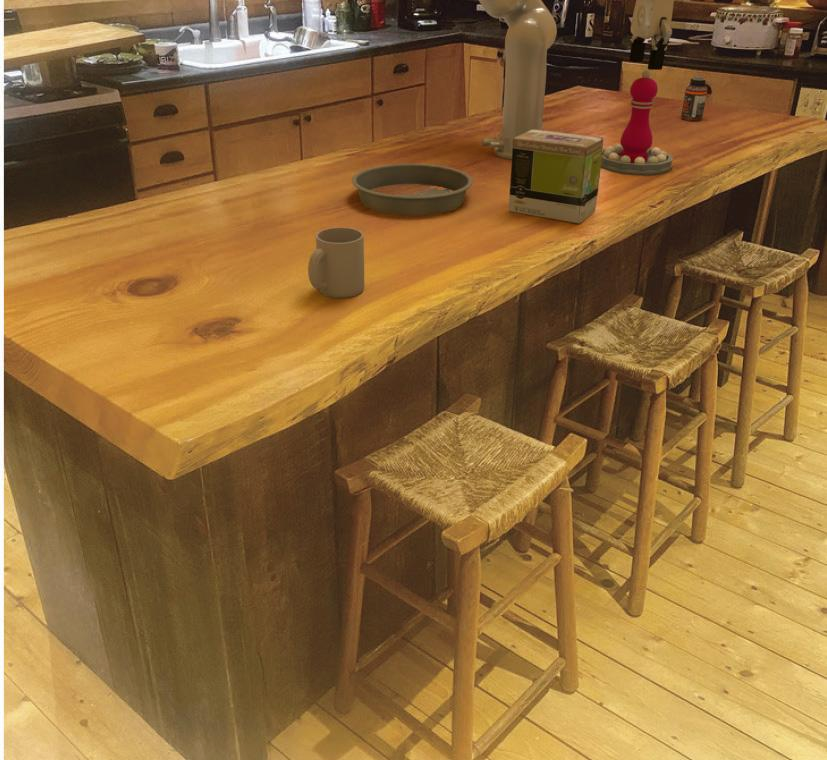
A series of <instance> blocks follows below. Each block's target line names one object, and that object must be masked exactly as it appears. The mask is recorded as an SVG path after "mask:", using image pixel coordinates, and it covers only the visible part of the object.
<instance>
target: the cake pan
mask: <svg viewBox="0 0 827 760" xmlns="http://www.w3.org/2000/svg"><path fill="white" fill-rule="evenodd" d="M351 183H352V185H353V187H355V188H356V189H357V191H358V192H357V193H358V195H359V198H360V202H361V204H363V206H365V207H366V208H368V209H370V210H373V211H376V212H380V213H382V214H383V213H385V214H389V215H390V214H391V215H395V216H396V215H397V216H398V215H399V216H415V217H417V216H430V215H438V214H443V213H447V212H451V211H453V210H455V209H457V208H459V207H461V206H462V205H463V204H464V200H465V196H466V193H467V191H468V190H469V189H470V187H471V186H472V185H473V178H472V177H471V176H470V175H469V174H468V173H466V172H465V171H462V170H459V169H456V168H452V167H449V166H443V165H438V164H437V165H436V164H426V163H398V164H397V163H395V164H385V165H378V166H373V167H369V168H365V169H363V170H361V171H359V172H357V173H356V174H354V175H353V177H352V179H351ZM415 184H419V185H420V186H421V185H422V186H428V185H432V186H437V187H443V188H446V189H444V190H438V189H437V188H434V189H427V188H425V189H420V190H419V191H420V192H416V191H414V192H415V193H419V194H408V193H409V192H407V193H400V194H391V193H390V194H389V193H384V192H379V191H378V192H377V191H374V190H375V189H381V188H384V187H389V186H390V187H391V186H392V187H393V186H398V185H399V186H402V185H415ZM425 190H428V191H425ZM449 190H452V192H450V191H449ZM442 191H443V192H442ZM424 192H425V193H424ZM447 192H448V193H447ZM420 194H423V195H420ZM433 194H434V195H433Z"/></svg>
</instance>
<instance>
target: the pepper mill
mask: <svg viewBox="0 0 827 760" xmlns="http://www.w3.org/2000/svg"><path fill="white" fill-rule="evenodd" d="M650 75H651V72H650V70H648V69H647V70H644V71H643V72H642V73H641V77H639V78H637V79H635V80H634V81H633V82H632V83H631V85H630V88H629V89H630V90H629V94H630V96H631V97H632V99H631V100H630V107H631V114H630V119H629V121H628V123H627V125H626V127H625V129H624V130H623V132H622V134H621V137H620V142H619V144H621V145H622V147H623V149H624V150H623V151H621V156H620V159H621V157H622V156H625V155H627V156H629V157H630V159H631V162H630V163H634V161H635V159H636V158H637V157H643V158H644V160H645V162H647V160H648V153H647V152H646V151H647V150H648V149H649V148H652V146H653V133H652V130H651V126H650V111H651V109H653V107H654V106H653V104H654V101H653V99H654V98H655V97H657V93H658V89H659V88H658V83H657V82H656V80H654V79H653V78H651V76H650Z"/></svg>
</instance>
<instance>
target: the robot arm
mask: <svg viewBox="0 0 827 760" xmlns="http://www.w3.org/2000/svg"><path fill="white" fill-rule="evenodd" d="M478 1H479V3H480V5H481V6H482V8H483V9H484V11H485V12H486V13H487V14H488V15H489V16H490V17H492V18H495V19H503V21H505V23H506V24H507V26H508V28H507V32H506V34H505V39H504V54H505V55H504V57H505V58H504V59H505V73H504V74H505V75H504V93H503V95H504V96H503V109H502V122H501V123H502V127H501V132H499V133H497V136H494V137H482V139H481V145H482V147H489V148H491V149H492V148H494V151H493V152H494V154H495V156H498V157H500V158H503V159H506V160H507V159H508V160H512V146H513V138H515V137H517V136H519V135H521V134H524V133H526V132H528V131H530V130H532V129H537V130H542V128H543V117H544V105H545V94H546V93H545V92H546V84H547V83H546V82H547V81H546V80H547V53H548V49H550V48H551V47H552V45H553V44H554V42H555V40H556V38H557V34H558V33H557V32H558V31H557V29H558V28H557V23H556V21H555V18H554V17H553V14H552V13H551V11H549V9H548V8H547V6H546V5H545V4H544V2H543V0H478ZM674 2H675V0H636V1H635V5H634V9H633V15H632V20H631V24H630V32H631V35H632V36H631V39H630V40H631V46H630V52H629V58H628V61H629V62H631V63H642V62H644V56H645V51H646V50H645V49H646V44H647V43H646V42H645V41H646V40H649V39H651V46H652V49H650V51H649V57H648V58H649V59H648V63H647V70H648V71H653V70H654V71H655V70H656V71H657V70H658V71H659V70H660V71H661V70H662V69H663V66H664V60H665V55H666V51H667V49H668V45H669V43H670V39H671V36H672V35H673V29H672V27H671V24H672V17H673V11H674V10H673V9H674Z"/></svg>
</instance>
